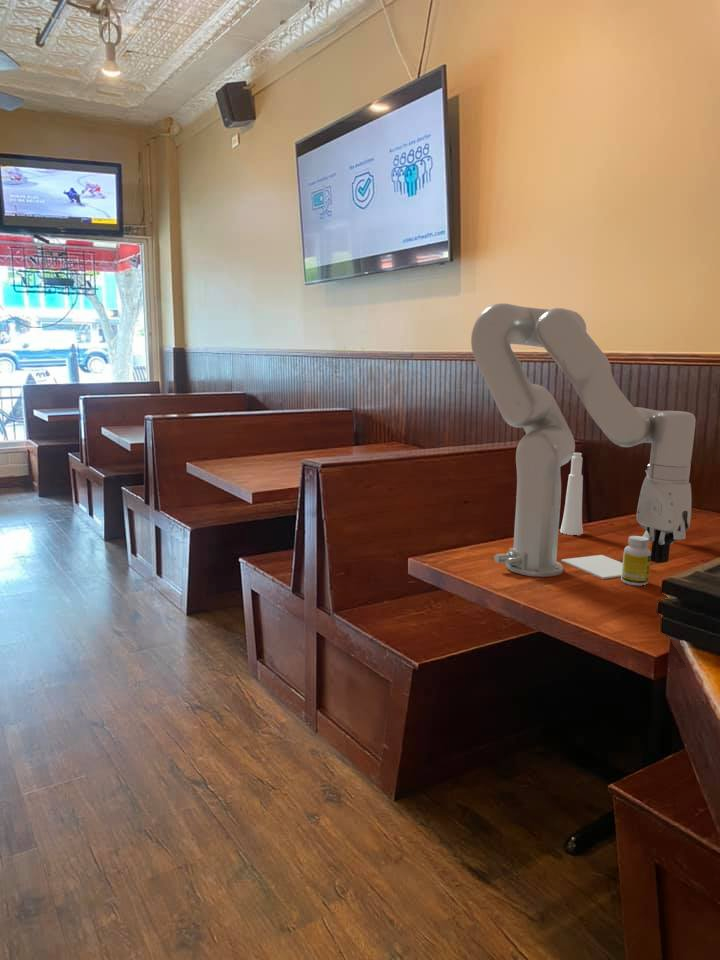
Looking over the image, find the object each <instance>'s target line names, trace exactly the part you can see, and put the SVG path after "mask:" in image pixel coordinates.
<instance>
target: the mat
mask: <svg viewBox="0 0 720 960" xmlns="http://www.w3.org/2000/svg"><path fill="white" fill-rule="evenodd" d="M560 560H561V563H562V562H563V563H565V564H568V565H569V566H572V567H575V568H576V569H579V570H581V571H583V572H585V573H588V574H591V575H593V576H595V577H597V578H600V579H602V580H605V579H613V578H621V574H622V565H623V561H622V562H621V561H619V560H616V559H614V558H611V557H608V556H606V555H604V554H598V555H588V556H581V557H572V558H563V559H560Z"/></svg>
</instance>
